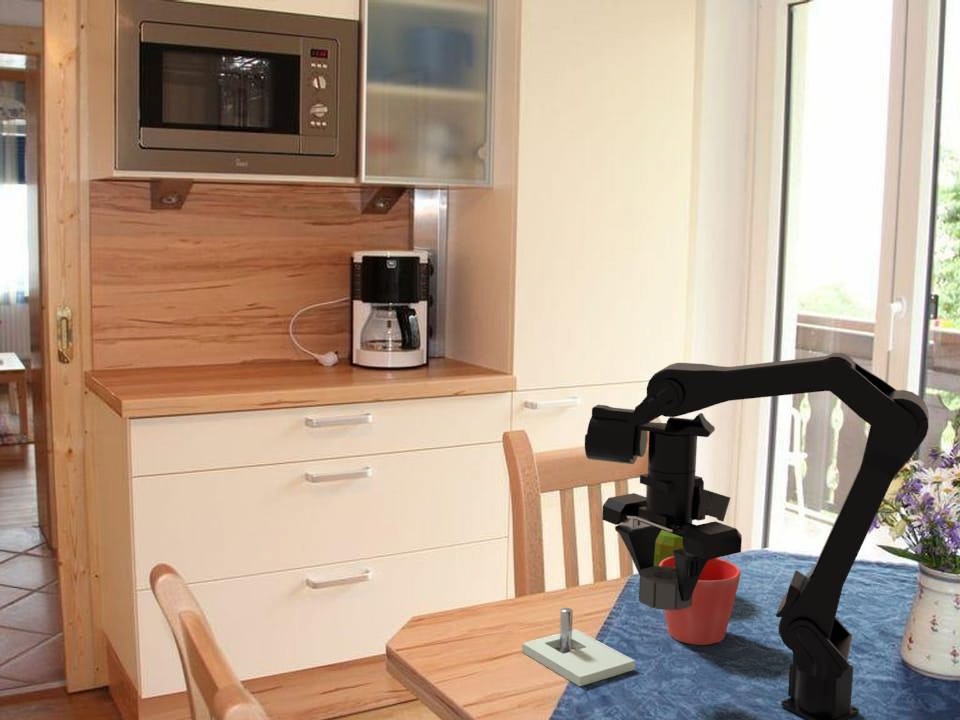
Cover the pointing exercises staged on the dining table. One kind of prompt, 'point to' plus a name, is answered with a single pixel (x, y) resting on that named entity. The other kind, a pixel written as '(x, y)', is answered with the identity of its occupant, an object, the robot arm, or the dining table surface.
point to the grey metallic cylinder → (566, 630)
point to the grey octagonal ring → (661, 589)
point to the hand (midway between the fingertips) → (665, 591)
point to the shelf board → (579, 658)
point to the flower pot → (705, 604)
